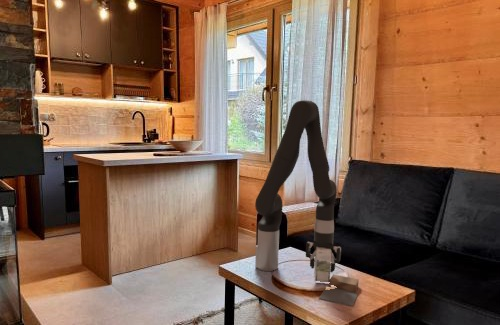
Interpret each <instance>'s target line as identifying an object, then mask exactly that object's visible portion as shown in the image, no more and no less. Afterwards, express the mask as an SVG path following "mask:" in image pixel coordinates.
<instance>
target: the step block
mask: <svg viewBox="0 0 500 325" xmlns="http://www.w3.org/2000/svg"><path fill="white" fill-rule="evenodd" d="M359 280H360V279H358V278H354V277H349V276H344V275H339V274H334V273H333V274H332V275H331V276H330V283H329V284H330V285H334V286H336V287H337V289H342V290H347V291H351V292H356V293H357V291H358V288H359ZM329 284H328V285H329Z"/></svg>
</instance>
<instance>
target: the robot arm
mask: <svg viewBox="0 0 500 325" xmlns="http://www.w3.org/2000/svg"><path fill="white" fill-rule="evenodd" d="M319 109H320V108H319V106H318V104H317V103H315V101H312V100H305V99H301V100H298V101H296V102H294V104H292V107H291V108H290V111H289V114H288V119H287V123H286V126H285V129H284V132H283V135H282V137H281V140H280V141H279V143H278V144H279V145H278V147H277V149H276V152H275V154H274V157H273V160H272V162H271V165H270V169H269V171H268V172H267V176H266V178H265V180H264V182H263V185H262V187H261V189H260V191H259V193H258V195H257V197H256V199H255V202H254V203H255V204H254V206H255V210H256V212H257V213H258V214H259V215H260V216H262V217H261V219H260V220H259V222H258V224H257V245H256V246H255V264H254V265H255V267H254V268H256V269H258V270H260V271H265V272H274V271H276V270H278V269H277V268H279V248H280V247H279V246H280V245H279V244H280V225H281V223H282V216H283V200H282V197H281V195H280V194H279V191H280V189H281V187H282V186H283V185H284V184H285V182H286V181H287V180H288V178H289V177H290V176H291V175H292V173H293V171H294V169H295V167H296V164H297V162H298V159H299V156H300V145H301V139H302V135H303V133H304V130H305V132H306V137H307V138H306V139H307V157H308V161H309V164H310V165H309V166H310V169H311V172H312V183H313V190H314V192H315V195H316V197H318V203H317V205H316V208H315V220H314V229H313V230H314V233H313V234H314V235H313V236H314V237H313V242H311V241H307V242H306V243H305V258H308V259H309V266H310V268H311V269H313V270H314V269H315V256H316V246H317V247H318V248H321V247H322V248H324V249H331V266H330V273H333V272H334V271H335V269H336V263H337V264H339V263H340V261H341V256H342V247H341V246H335V245H334V233H335V232H334V231H335V222H334V220H335V218H334V217H335V204H336V199H337V191H338V190H337V185H336V183H335V182H334V181H333V180H332V179H330V175H329V174H330V173H329V172H330V165H329V161H328V156H327V153H326V150H325V146H324V145H325V144H324V139H323V135H322V134H323V133H322V128H321V119H320V118H321V117H320V116H321V115H320V110H319ZM312 247H313V249H314V251H313V253H312V254H311V248H312ZM332 251H334V252H335V253H336V257H335V256H334V253H333V252H332ZM275 269H276V270H275ZM273 270H274V271H273Z"/></svg>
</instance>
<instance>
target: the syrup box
mask: <svg viewBox="0 0 500 325" xmlns="http://www.w3.org/2000/svg"><path fill="white" fill-rule="evenodd" d="M314 258H315V264H314V270H313V271H314V277H315V279H314V282H315V281H320V282H330V279H331V272H330V270H331V249H324V248H322V247H321V248H318V247H317V246H316V256H315V257H314ZM314 277H313V278H314Z"/></svg>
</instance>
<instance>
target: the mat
mask: <svg viewBox="0 0 500 325" xmlns="http://www.w3.org/2000/svg"><path fill="white" fill-rule="evenodd" d="M358 296H359V292H357V291H356V292H351V291H347V290H342V289H337V288H335V289H330V290H324V289H323V291H322V293H321V294H320V296H319V297H318V299H319V300H321V301H327V302H331V303H335V304H340V305H344V306H348V307H354V304H355V302H356V300H357V298H358Z"/></svg>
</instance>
